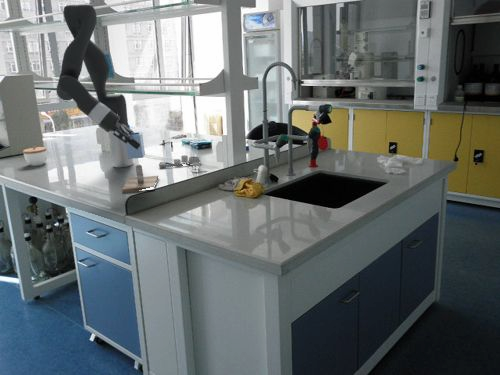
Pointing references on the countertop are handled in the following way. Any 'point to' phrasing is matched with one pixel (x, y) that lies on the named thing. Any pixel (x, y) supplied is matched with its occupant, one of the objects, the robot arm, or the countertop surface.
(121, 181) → the countertop surface
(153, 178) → the post base
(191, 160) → the pulley system
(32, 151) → the lidded jar
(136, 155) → the blue box
